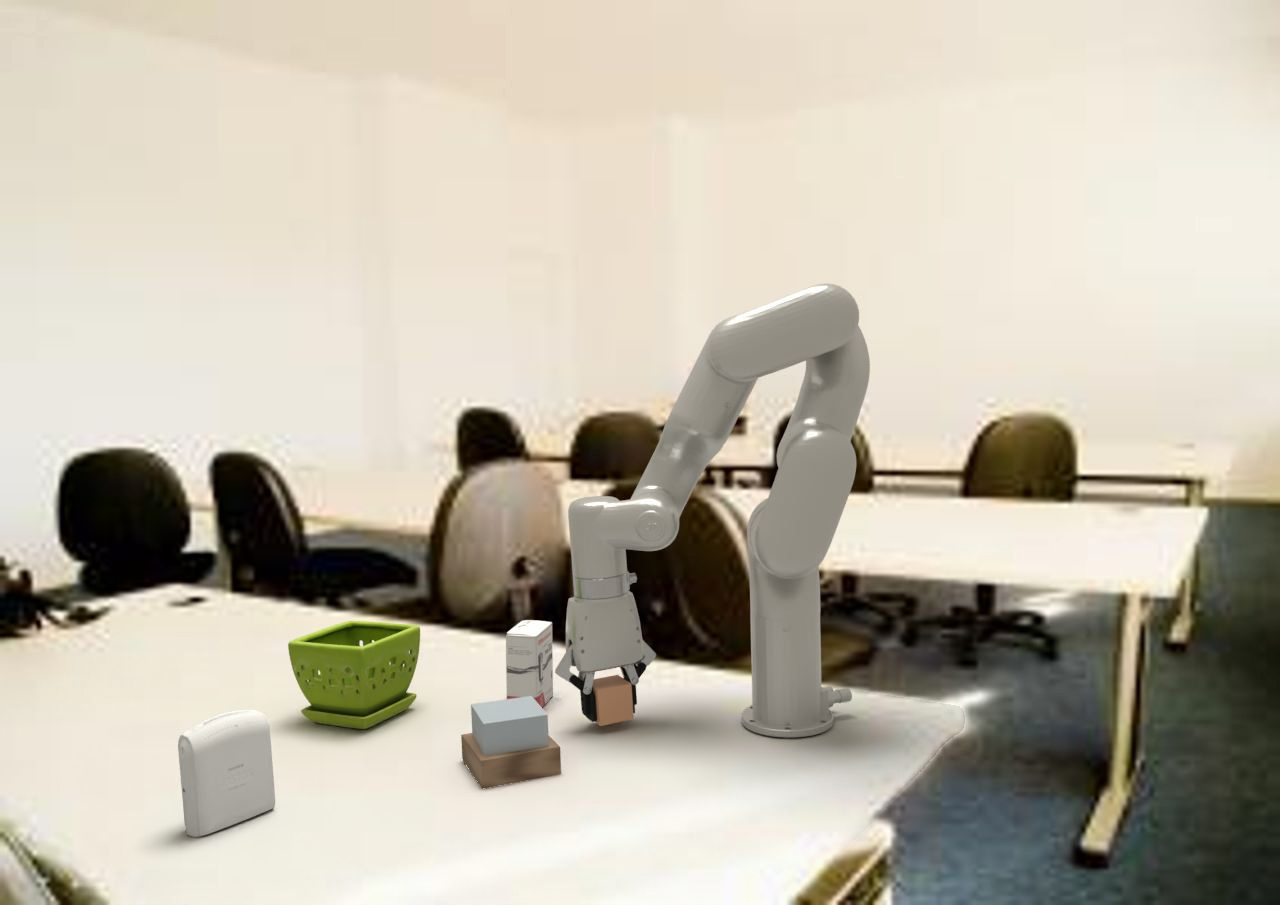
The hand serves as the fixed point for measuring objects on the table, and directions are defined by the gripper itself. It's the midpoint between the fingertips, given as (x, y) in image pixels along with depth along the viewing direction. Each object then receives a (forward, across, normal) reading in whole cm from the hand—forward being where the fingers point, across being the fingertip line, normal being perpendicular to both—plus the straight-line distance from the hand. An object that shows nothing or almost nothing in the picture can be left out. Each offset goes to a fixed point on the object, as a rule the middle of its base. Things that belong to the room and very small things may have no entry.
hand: (609, 713), depth 148 cm
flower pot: (+1, +31, -21) cm, 38 cm away
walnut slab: (+2, +17, +8) cm, 19 cm away
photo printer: (+1, +50, +8) cm, 50 cm away
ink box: (+2, +7, -14) cm, 16 cm away
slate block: (-2, +17, +8) cm, 18 cm away
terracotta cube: (+1, 0, 0) cm, 1 cm away
